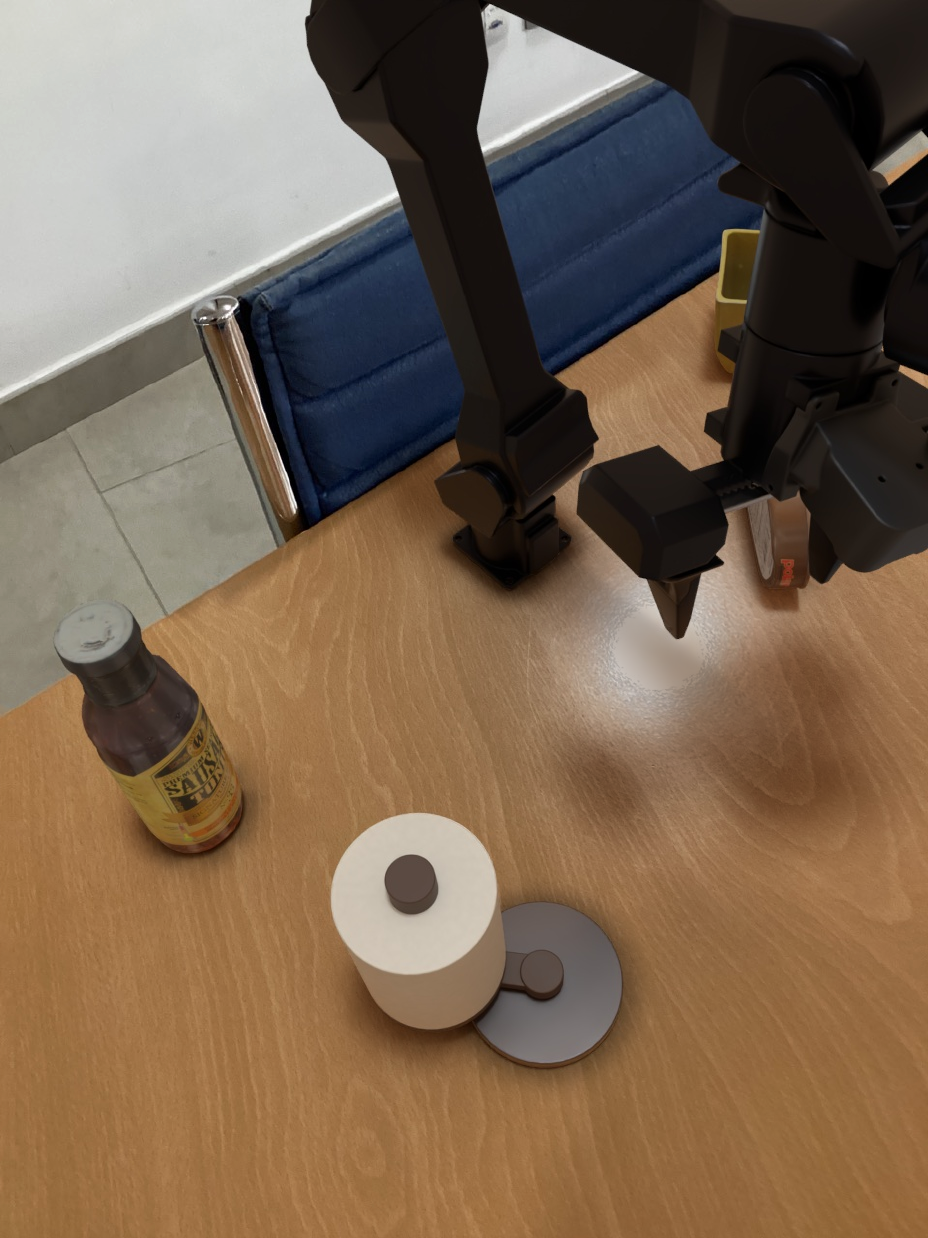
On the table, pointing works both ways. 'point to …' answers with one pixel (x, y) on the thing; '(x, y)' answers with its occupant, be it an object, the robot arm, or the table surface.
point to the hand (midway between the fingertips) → (747, 605)
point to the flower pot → (733, 283)
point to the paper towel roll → (430, 924)
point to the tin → (781, 542)
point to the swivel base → (580, 1005)
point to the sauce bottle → (149, 729)
